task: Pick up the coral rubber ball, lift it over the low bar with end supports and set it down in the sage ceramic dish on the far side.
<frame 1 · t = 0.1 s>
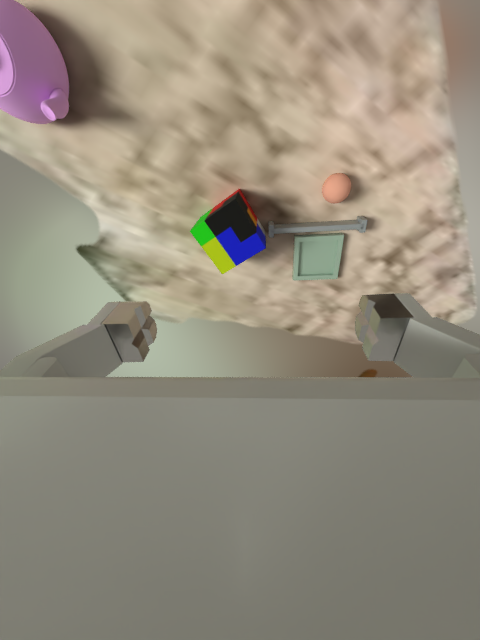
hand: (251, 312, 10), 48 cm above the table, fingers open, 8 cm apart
puzzle toy: (233, 224, 55), on the table
teapot: (42, 75, 43), on the table
bar with end supports: (314, 224, 54), on the table
ball: (336, 188, 47), point 2 cm above the table
dish: (315, 256, 58), on the table
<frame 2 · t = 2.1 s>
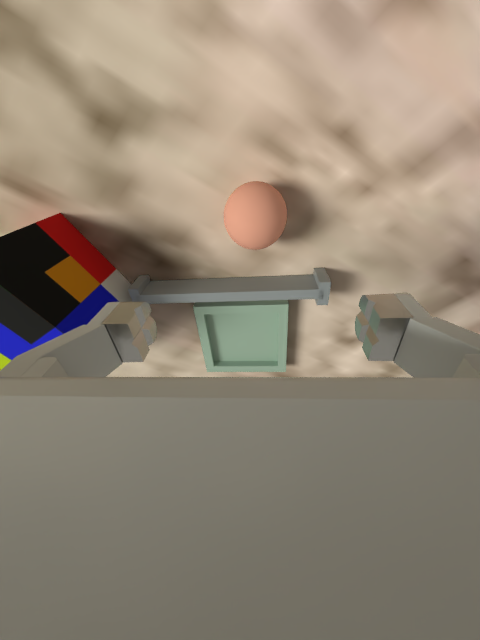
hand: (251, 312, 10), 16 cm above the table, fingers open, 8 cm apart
puzzle toy: (76, 278, 28), on the table
bar with end supports: (229, 282, 27), on the table
ball: (255, 217, 20), point 2 cm above the table
dish: (243, 333, 31), on the table
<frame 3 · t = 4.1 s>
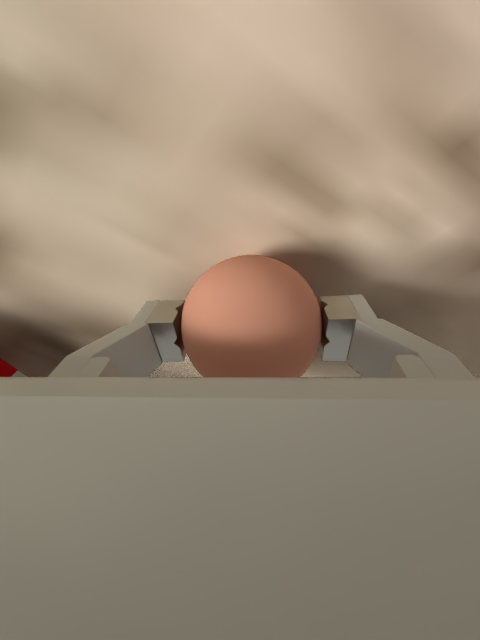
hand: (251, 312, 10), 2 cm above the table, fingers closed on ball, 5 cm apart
ball: (250, 325, 9), point 2 cm above the table, touching gripper
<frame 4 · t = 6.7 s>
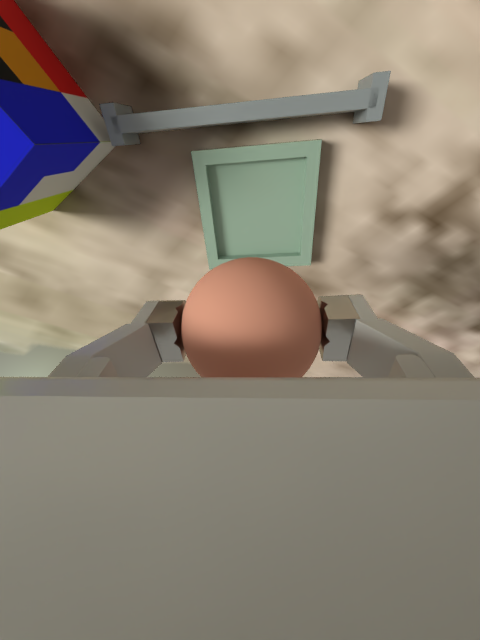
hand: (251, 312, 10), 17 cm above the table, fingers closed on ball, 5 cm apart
puzzle toy: (35, 120, 21), on the table
bar with end supports: (241, 114, 20), on the table
ball: (250, 327, 9), point 18 cm above the table, touching gripper
dish: (257, 210, 24), on the table
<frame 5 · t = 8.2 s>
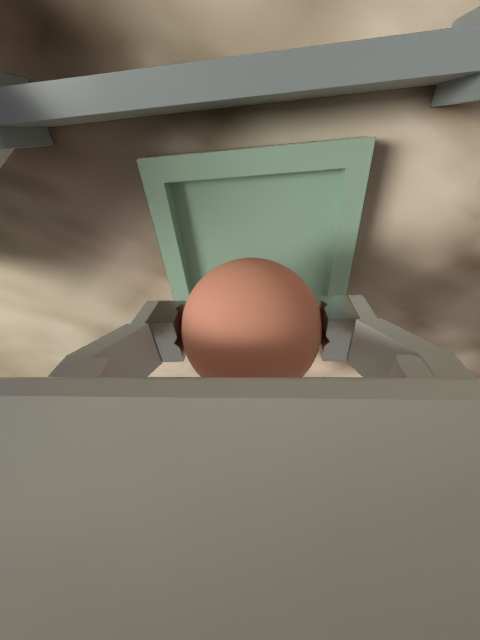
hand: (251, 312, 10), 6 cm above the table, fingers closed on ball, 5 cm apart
bar with end supports: (225, 92, 11), on the table
ball: (250, 327, 9), point 7 cm above the table, touching gripper
dish: (256, 251, 15), on the table
when the fingers open (5 cm above the table, at t = 9.3 s): ball drops 2 cm, resting on dish.
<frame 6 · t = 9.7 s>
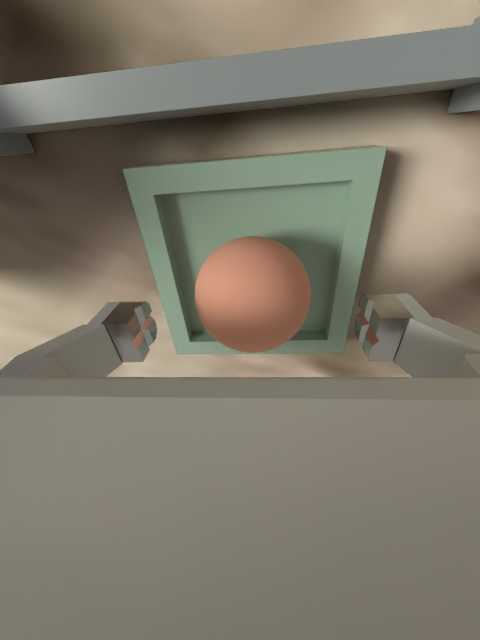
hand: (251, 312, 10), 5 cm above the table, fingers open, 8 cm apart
bar with end supports: (220, 96, 10), on the table
ball: (252, 295, 11), point 3 cm above the table, touching dish
dish: (254, 265, 14), on the table
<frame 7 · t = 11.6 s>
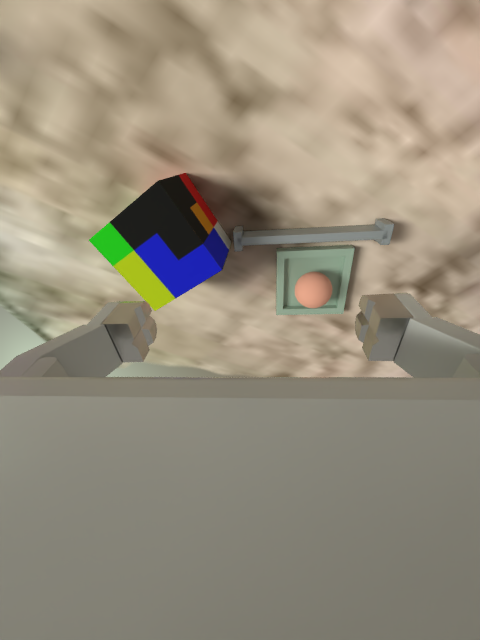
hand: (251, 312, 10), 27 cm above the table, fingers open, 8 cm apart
puzzle toy: (181, 230, 35), on the table
bar with end supports: (307, 231, 34), on the table
ball: (313, 290, 35), point 3 cm above the table, touching dish
dish: (310, 280, 38), on the table
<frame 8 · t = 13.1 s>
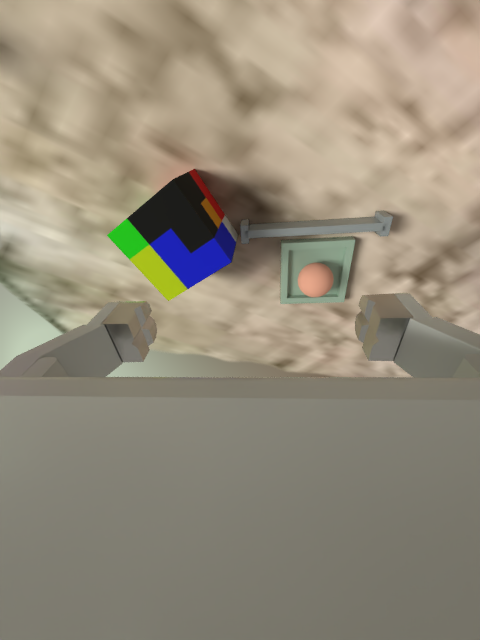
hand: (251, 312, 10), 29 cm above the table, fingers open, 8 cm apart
puzzle toy: (190, 223, 37), on the table
bar with end supports: (310, 224, 36), on the table
ball: (315, 280, 37), point 3 cm above the table, touching dish
dish: (313, 270, 40), on the table
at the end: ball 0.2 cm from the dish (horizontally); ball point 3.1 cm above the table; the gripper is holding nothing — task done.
